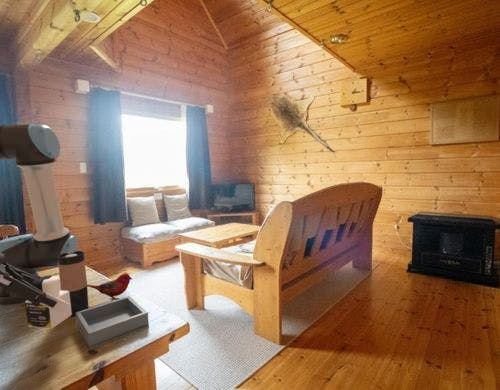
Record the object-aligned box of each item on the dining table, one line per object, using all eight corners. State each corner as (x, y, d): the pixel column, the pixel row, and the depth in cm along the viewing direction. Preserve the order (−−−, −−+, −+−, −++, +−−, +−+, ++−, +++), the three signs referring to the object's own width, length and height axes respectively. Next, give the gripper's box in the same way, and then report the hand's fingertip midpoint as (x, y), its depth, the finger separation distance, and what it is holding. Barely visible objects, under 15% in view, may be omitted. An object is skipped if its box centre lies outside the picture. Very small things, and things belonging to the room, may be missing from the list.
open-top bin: (77, 326, 92) (75, 312, 91) (130, 308, 102) (129, 296, 102) (90, 349, 80) (88, 333, 79) (148, 326, 90) (147, 312, 90)
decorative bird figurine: (132, 301, 108) (130, 274, 107) (83, 302, 108) (81, 276, 107) (135, 297, 110) (133, 271, 109) (88, 299, 111) (85, 273, 110)
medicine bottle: (27, 327, 77) (21, 282, 76) (50, 313, 84) (45, 272, 83) (51, 329, 76) (45, 284, 74) (72, 315, 83) (68, 273, 81)
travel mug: (77, 318, 97) (71, 258, 95) (57, 316, 98) (51, 257, 96) (94, 307, 104) (89, 251, 102) (75, 305, 106) (70, 250, 104)
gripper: (-35, 262, 76) (45, 301, 88) (-42, 289, 60) (59, 332, 72) (-11, 238, 79) (64, 278, 91) (-11, 257, 62) (81, 303, 74)
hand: (62, 302), depth 81 cm, fingers closed on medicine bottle, 10 cm apart
